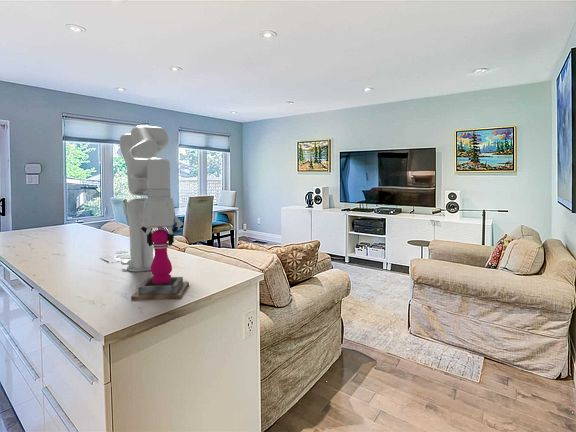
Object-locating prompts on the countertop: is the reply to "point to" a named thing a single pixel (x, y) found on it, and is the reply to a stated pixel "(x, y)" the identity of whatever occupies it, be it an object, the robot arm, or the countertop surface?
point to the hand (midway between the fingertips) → (160, 244)
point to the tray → (124, 255)
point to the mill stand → (161, 289)
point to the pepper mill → (160, 257)
